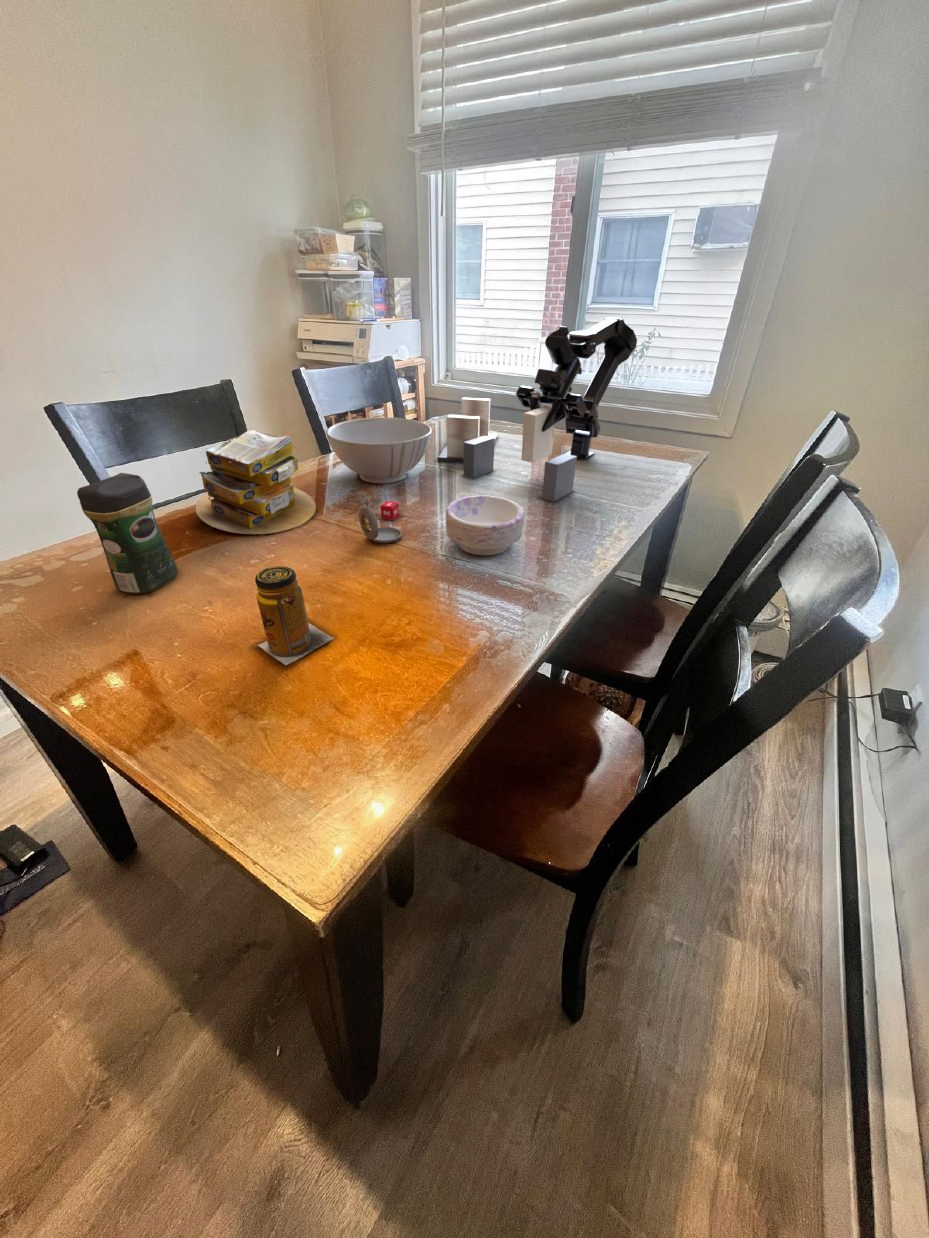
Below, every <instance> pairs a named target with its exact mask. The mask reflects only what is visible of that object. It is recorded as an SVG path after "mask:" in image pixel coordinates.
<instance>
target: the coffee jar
mask: <svg viewBox="0 0 929 1238" xmlns="http://www.w3.org/2000/svg"><path fill="white" fill-rule="evenodd" d="M76 495H77V499H78V500H79V504H80V507H81V510H82V512H83V514H84V515H85V516H86V517H87V519H89V520H90V521H91V523H92V524H93V526H94V528H95V530H96V532H97V534H98V535H97V536H99V537H98V538H99V541H100V544H101V546H102V549H103V552H104V555H105V558H106V562H107V565H108V569H109V572H110V576H111V578H112V581H113V584H114V586H115V588H116V589H117V590H119V591H120V592H123V593H125V594H129V595H139V594H141V595H142V594H148V593H151V592H153V591H155V590H157V589H159V588H161V587H163V586H164V585H166V584H167V583H169V582H170V581H171V580H173V579H175V578H176V577H177V575H178V573H179V568H178V566H177V564H176V563H177V562H176V561H175V559H174V556H173V555H172V553H171V550H170V549H169V546H168V545H167V542H166V540H165V538H164V535H163V533H162V531H161V529H160V527H159V525H158V522H157V519H156V516H155V513H154V508H153V496H152V494H151V492H150V490H149V488H148V486H147V484H146V481H145V480H144V479H143V478H142V477H141V476H140V475H138V474H133V473H126V472H119V473H118V474H115V475H113V476H110V477H107V478H104V479H101V480H99V481H96V482H94V483H91V484H88V485H85V486H81V487H78V489H77V491H76Z"/></svg>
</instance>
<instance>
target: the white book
mask: <svg viewBox="0 0 929 1238" xmlns="http://www.w3.org/2000/svg"><path fill="white" fill-rule="evenodd" d="M551 409H552V406H547V405H546V406H545V405H544V406H541V408H538V409H535V410H532V411H530V410H529V411H525V412H524V413H523V425H522V443H521V461H523V462H528V463H531V464H533V463H536V462H538V461H540V460H542V459H545V458H547V457H549V456H551V455H553V444H554V436H555V435H554V433H555V424H554V425H553V426H551V427H550V428H549V429H547V430H546V431H545V432H543V431H542V427H543V425H544V422H545V421H546V419H547V417H548V415H549V413H550V411H551Z"/></svg>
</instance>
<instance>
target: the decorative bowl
mask: <svg viewBox="0 0 929 1238" xmlns="http://www.w3.org/2000/svg"><path fill="white" fill-rule="evenodd" d="M432 432H433V429H432V428H431V426H430V425H429V424H427V423H425V422H423V421H419V420H415V419H409V418H403V417H389V416H387V417H386V416H385V417H380V416H379V417H363V418H356V419H355V418H354V419H350V420H345V421H341V422H338V423H335V424H332V425H331V426H330V427H328V428H327V429H326V432H325V434H326V438H327V440H328V443H329V445H330V447H331V449H332V450H333V452H334V454H335V455H336V457H337V459H339V461H340V462H341V463H342V464H343V465H344V466H345V467H346V468H348V469H349V470H351V472H353V473H355V474H356V475H359V479H361V480H362V481H364V482H367V483H371V484H390V483H396V482H399V481H401V480H403V479H405V478H406V476H407V473H408V472H410V471H412V470H413V469H414V468H415V467H416V466H417V465H418V464H419V463H420V461H421V460H422V458H423V457H424V456H425V454H426V452H427V449H428V447H429V444H430V441H431V438H432V434H433V433H432Z"/></svg>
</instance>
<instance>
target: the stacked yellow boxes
mask: <svg viewBox="0 0 929 1238" xmlns="http://www.w3.org/2000/svg"><path fill="white" fill-rule="evenodd" d="M205 450H206V451H205V455H206V459H207V461H205V462H204V463H205V464H207V463H208V465H209V467H210V471H207V472H206V471H199V472H198V474H199V475H200V476H201V481H202V486H203V490H206V493H204V494H203V495H202V496H201V497H199V498H198V500H197V502H196V504H195V513H196V515H197V517H198V518H199V519H200V520H201V521H202V522H203V523H205V524H207V525H209V526H210V527H212V528H215V529H218V530H221V531H225V532H229V533H236V534H242V535H267V534H273V533H275V534H276V533H280V532H284V531H285V532H286V531H288V530H292V529H295V528H297V527H300V526H302V525H303V524H305V523H306V522H307V521H309V520H310V519H311V518H313V516H314V514H315V512H316V509H317V505H316V502H315V500H314V499H313V498H312V497H311V496H310V494H308V493H307V492H305V491H303V490H301V489H298V488H297V487H294V486H292V485H291V483H292V476H293V475H294V474H295V472H297V471H298V470H299V463H298V458H297V456H293V455H294V453H295V451H294V441H293V440H292V439H291V437H290V436H289V435H284V436H277V435H273V434H269V433H263V432H262V431H256V430H253V429H248V430H246V432H244V433H242V434H240V435H236V436H234V437H232V438H229V439H228V438H227V439H226V440H225V441H224V442H223V443H219V444H217V445H215V446H213V447H210V448H206V449H205Z"/></svg>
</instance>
